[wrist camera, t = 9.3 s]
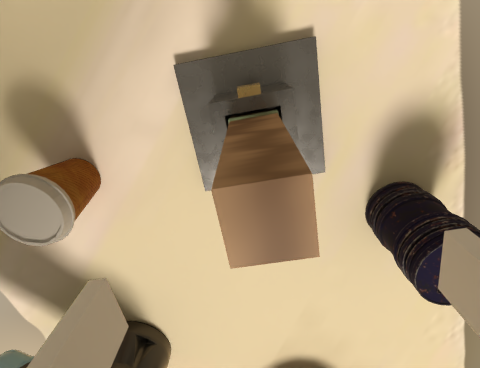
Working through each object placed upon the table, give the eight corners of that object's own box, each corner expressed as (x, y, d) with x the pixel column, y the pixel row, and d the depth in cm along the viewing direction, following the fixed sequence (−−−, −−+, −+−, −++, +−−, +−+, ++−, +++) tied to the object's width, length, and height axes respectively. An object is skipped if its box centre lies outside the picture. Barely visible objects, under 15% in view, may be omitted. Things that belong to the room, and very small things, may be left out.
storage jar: (391, 170, 43) (458, 221, 30) (442, 197, 45) (527, 258, 31) (352, 221, 47) (395, 287, 33) (400, 244, 49) (460, 317, 35)
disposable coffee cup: (40, 183, 45) (-26, 223, 34) (63, 135, 42) (-1, 162, 31) (96, 214, 47) (50, 261, 36) (122, 171, 44) (81, 208, 33)
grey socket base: (206, 187, 45) (196, 220, 36) (176, 64, 38) (153, 66, 29) (322, 168, 43) (343, 198, 34) (313, 37, 36) (335, 29, 27)
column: (238, 158, 35) (229, 270, 16) (229, 115, 33) (208, 188, 14) (281, 151, 34) (321, 257, 16) (275, 106, 32) (313, 171, 14)
